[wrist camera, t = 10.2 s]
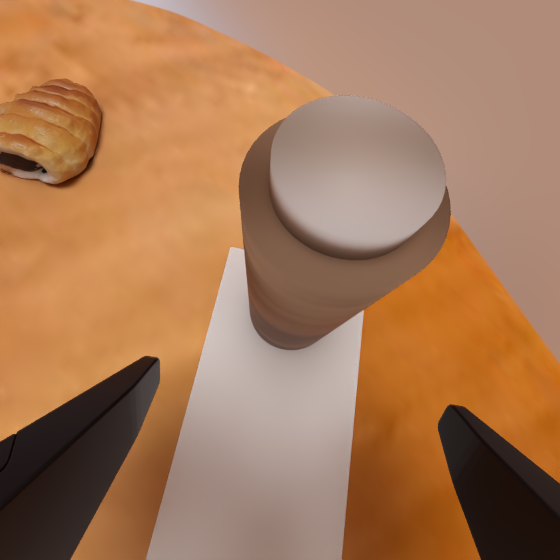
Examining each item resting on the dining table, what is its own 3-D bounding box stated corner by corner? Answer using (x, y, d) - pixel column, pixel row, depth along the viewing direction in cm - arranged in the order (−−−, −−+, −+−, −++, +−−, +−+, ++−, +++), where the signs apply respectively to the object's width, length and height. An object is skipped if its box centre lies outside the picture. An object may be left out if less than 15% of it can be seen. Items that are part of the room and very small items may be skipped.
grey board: (317, 741, 14) (322, 772, 13) (111, 703, 14) (98, 732, 13) (361, 280, 22) (366, 274, 21) (232, 253, 22) (230, 246, 21)
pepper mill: (338, 343, 19) (518, 257, 6) (255, 356, 19) (254, 293, 5) (321, 266, 21) (431, 69, 8) (244, 276, 20) (223, 78, 7)
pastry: (49, 92, 26) (16, 46, 22) (124, 108, 26) (103, 65, 23) (-5, 177, 23) (-53, 138, 19) (81, 194, 23) (49, 160, 19)
